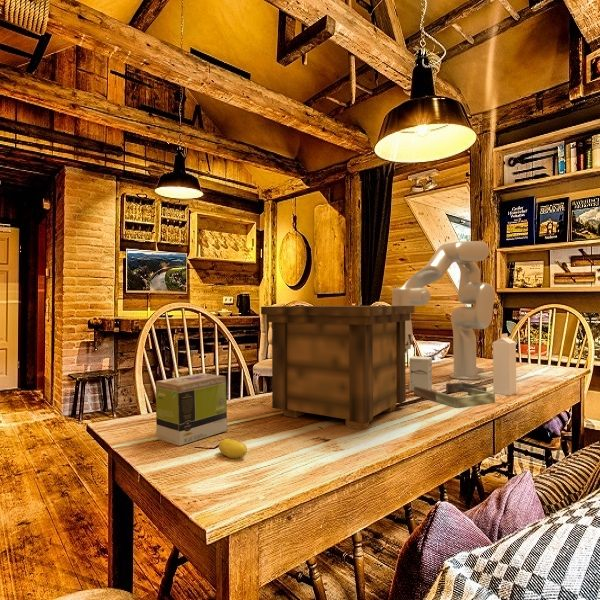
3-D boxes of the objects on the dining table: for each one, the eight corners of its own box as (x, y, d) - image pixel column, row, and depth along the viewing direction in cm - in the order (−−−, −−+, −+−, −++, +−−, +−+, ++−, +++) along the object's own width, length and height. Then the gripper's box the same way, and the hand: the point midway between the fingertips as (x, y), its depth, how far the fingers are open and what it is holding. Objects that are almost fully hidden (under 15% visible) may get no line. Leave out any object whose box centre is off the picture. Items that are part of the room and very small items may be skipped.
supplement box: (408, 391, 159) (408, 357, 160) (413, 387, 166) (413, 355, 166) (428, 392, 156) (428, 359, 156) (432, 389, 163) (432, 356, 163)
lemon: (228, 450, 96) (228, 433, 96) (251, 458, 91) (251, 440, 91) (213, 455, 93) (213, 437, 93) (236, 464, 88) (236, 445, 88)
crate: (261, 416, 124) (261, 306, 125) (321, 394, 154) (320, 305, 154) (370, 436, 105) (369, 306, 105) (415, 407, 134) (414, 305, 135)
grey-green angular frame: (460, 389, 162) (460, 381, 162) (507, 400, 143) (507, 391, 143) (413, 395, 152) (413, 387, 152) (457, 407, 133) (457, 398, 133)
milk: (516, 393, 155) (516, 333, 155) (509, 395, 151) (510, 334, 151) (499, 390, 159) (499, 332, 159) (492, 393, 155) (492, 333, 155)
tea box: (203, 425, 116) (203, 371, 116) (228, 432, 110) (227, 375, 110) (154, 438, 104) (154, 379, 104) (178, 447, 98) (178, 384, 98)
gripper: (382, 316, 176) (382, 360, 176) (406, 318, 163) (405, 365, 162) (397, 317, 179) (396, 360, 179) (421, 318, 166) (420, 364, 166)
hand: (400, 362), depth 171 cm, fingers closed
